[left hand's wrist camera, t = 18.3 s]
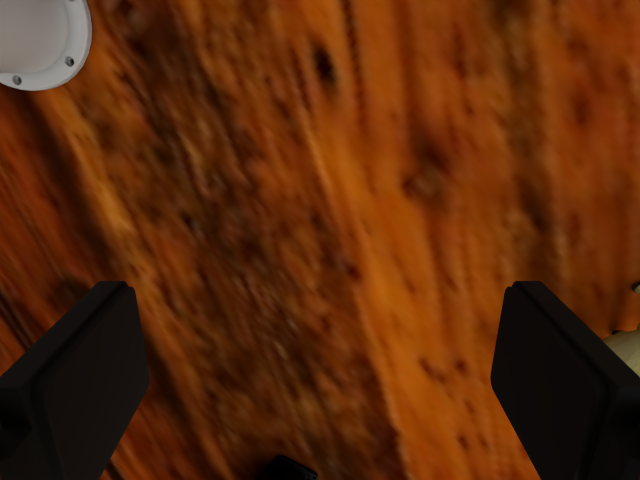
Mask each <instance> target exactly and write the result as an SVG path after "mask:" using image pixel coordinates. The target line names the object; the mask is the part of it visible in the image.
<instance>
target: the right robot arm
mask: <svg viewBox="0 0 640 480" xmlns="http://www.w3.org/2000/svg"><path fill="white" fill-rule="evenodd" d="M317 479H318V475H317V473H315V472H313V471H311V470H309V469H307V468H305V467H304V466H302V465H300V464H298V463H296V462H294V461H292V460H290V459H289V458H287V457H285V456H283V455H279V456H278V457H277V458H276V459H275V460H274V461H273V462H272V464H271V465H269V466H267V468H266V469H265V470H264V471H263V472H262V473H261V474H260V475H259V478H258V479H257V480H317Z"/></svg>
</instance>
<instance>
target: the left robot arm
mask: <svg viewBox="0 0 640 480" xmlns="http://www.w3.org/2000/svg"><path fill="white" fill-rule="evenodd" d="M91 41H92V23H91V16H90V11H89V8H88V5H87V1H86V0H0V83H3V84H5V85H7V86H10V87H13V88H17V89H21V90H32V91H36V90H47V89H51V88H55V87H58V86H60V85H62V84H64V83H66V82H68V81H69V80H70V79H72V78H73V77H74V76H75V75H76V74H77V73H78V72H79V70H80V69H81V68H82V66H83V65H84V63H85V61H86V59H87V56H88V54H89V50H90V46H91ZM72 59H73V60H74V64H73V63H72ZM21 80H22V81H21ZM148 385H149V370H148V364H147V358H146V352H145V346H144V340H143V335H142V329H141V323H140V317H139V311H138V305H137V300H136V294H135V290H134V288H133V287H128V285H127V283H126V282H125V281H100V282H98V283H97V284H96V285H95V286H94V287H93V288H92V289H91V290H90V291H89V292H88V293H87V294H86V295H85V296H84V297H83V298H81V299H80V300H79V301H78V302H77V303H76V304H75V305H74V306H73V307H72V308H71V309H70V310H69V311H68V312H67V313H66V314H65V315H64V316H63V317H62V318H61V319H60V320H59V321H58V322H57V323H56V324H55V325H54V326H52V327H51V328H50V329H49V330H48V331H47V332H46V333H45V334H44V335H43V336H42V337H41V338H40V339H39V340H38V341H37V342H36V343H35V344H34V345H33V346H32V347H31V348H30V349H29V350H28V351H27V352H26V353H25V354H23V355H22V356H21V357H20V358H19V359H18V360H17V361H16V362H15V363H14V364H13V365H12V366H11V367H10V368H9V369H8V370H7V371H6V372H5V373H4V374H3V375H2V376H1V377H0V480H99V478H100V476H101V475H102V473H103V471H104V469H105V467H106V465H107V463H108V462H109V460H110V458H111V456H112V454H113V452H114V450H115V449H116V447H117V445H118V443H119V441H120V439H121V437H122V436H123V434H124V432H125V430H126V428H127V426H128V424H129V423H130V421H131V419H132V417H133V415H134V413H135V411H136V409H137V408H138V406H139V404H140V402H141V400H142V398H143V396H144V395H145V393H146V391H147V389H148ZM491 385H492V389H493V391H494V393H495V395H496V396H497V398H498V400H499V402H500V404H501V406H502V408H503V409H504V411H505V413H506V415H507V417H508V419H509V421H510V423H511V424H512V426H513V428H514V430H515V432H516V434H517V436H518V437H519V439H520V441H521V443H522V445H523V447H524V449H525V450H526V452H527V454H528V456H529V458H530V460H531V462H532V463H533V465H534V467H535V469H536V471H537V473H538V475H539V476H540V478H541V480H640V377H639V376H638V375H637V374H636V373H635V372H634V371H633V370H632V369H631V368H630V367H629V366H628V365H627V364H626V363H625V362H624V361H623V360H622V359H621V358H620V357H619V356H618V355H617V354H615V353H614V352H613V351H612V350H611V349H610V348H609V347H608V346H607V345H606V344H605V343H604V342H603V341H602V340H601V339H600V338H599V337H598V336H597V335H596V334H595V333H594V332H593V331H592V330H591V329H590V328H589V327H588V326H586V325H585V324H584V323H583V322H582V321H581V320H580V319H579V318H578V317H577V316H576V315H575V314H574V313H573V312H572V311H571V310H570V309H569V308H568V307H567V306H566V305H565V304H564V303H563V302H562V301H561V300H560V299H559V298H557V297H556V296H555V295H554V294H553V293H552V292H551V291H550V290H549V289H548V288H547V287H546V286H545V285H544V284H543V283H542V282H540V281H515V282H514V283H513V285H512V287H507V288H506V290H505V294H504V300H503V305H502V311H501V317H500V323H499V329H498V335H497V340H496V346H495V352H494V358H493V364H492V370H491Z"/></svg>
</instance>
